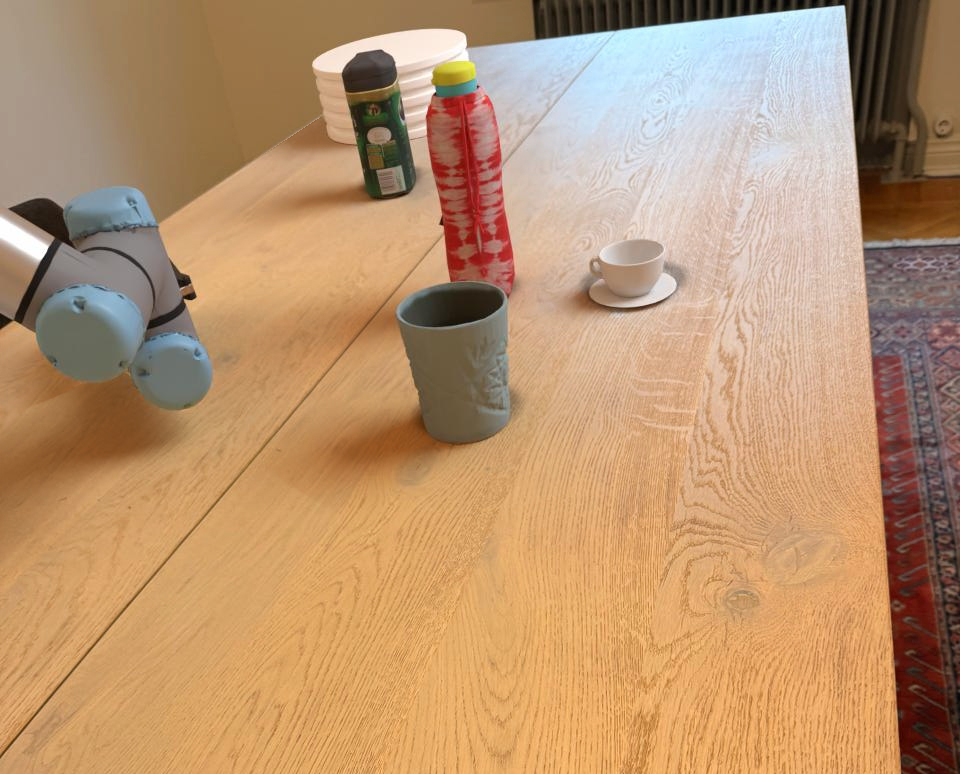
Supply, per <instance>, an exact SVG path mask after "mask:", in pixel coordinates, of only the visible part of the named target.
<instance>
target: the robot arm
mask: <svg viewBox="0 0 960 774" xmlns="http://www.w3.org/2000/svg"><path fill="white" fill-rule="evenodd" d="M62 216H63V220H64V223H65V225H66V228H67V231H68V234H69V235H68V239H69V241H70V242H71V243H72V245H73V246H74V247H72V246H70V245H68V244H67V243H65V242H63V241H61V240H60V239H58V238H56V237H55V236H53V235H52V234H50V233H48V232H47V231H45V230H44V229H42V228H40V227H39V226H37V225H35V224H34V223H32V222H30V221H29V220H27V219H26V218H24V217H22V216H20V215H19V214H17V213H16V212H14V211H12V210H10V209H9V208H7V207H5V206H4V205H3V204H1V203H0V314H1V315H2V316H4V317H6V318H8V319H10V320H12V321H14V322H15V323H17V324H18V325H21V326H22V327H24V328H26V329H27V330H28V331H30V332H32V333H34V334H35V339H36V343H37V345H38V349H39V350H40V352H41V354H42V355H43V356H44V357H45V359H46V360H47V361H48V362H49V363H50V364H51V365H52V366H53V368H54V369H55V370H56V371H58V372H59V373H61V374H62V375H64V376H66V377H67V378H69V379H72V380H75V381H79V382H83V383H89V384H91V383H93V384H94V383H95V384H98V383H99V384H100V383H105V382H109V381H112V380H114V379H116V378H118V377H120V376H121V375H122V374H123V373H125V372H126V370H128V374H129V377H130V378H131V381H132V384H133V385H134V388H136V390H138V391H139V393H140V394H141V396H142V397H143V398H144V399H145V400H146V401H147V402H149V404H151V405H153V406H155V407H157V408H158V409H161V410H165V411H183V410H188V409H190V408H192V407H194V406H196V405H197V404H199V403H200V402H201V401H202V400H204V398H206V396H207V395H208V393H209V391H210V389H211V387H212V383H213V380H214V379H213V378H214V371H213V365H212V362H211V358H210V357H209V355H208V350H207V348H206V346H205V345H204V344H202V342H201V341H200V337H199V335H198V332H197V330H196V328H195V324H194V322H193V319H192V316H191V314H190V311H189V308H188V305H187V303H186V301H193V300H195V299H197V297H198V295H197V293H196V291H195V289H194V288H195V287H194V285H193V282H192V279H191V276H190V275H189V274H185V273H182V272H181V271H180V270H179V268H177V266H176V265H175V264H174V262H173V261H172V259H171V258H170V257H169V255H168V251H167V249H166V247H165V244H164V241H163V238H162V235H161V233H160V230H159V228H160V225H159V223H158V222H157V221H156V219H155V216H154V214H153V212H152V210H151V208H150V205H149V203H148V201H147V199H146V196H145V195H144V194H143V193H142V192H141V191H140V190H139V189H138V188H135V187H132V186H129V185H127V186H126V185H114V186H106V187H101V188H98V189H95V190H91V191H88V192H85V193H83V194H80V195H78V196H77V197H75V198H73V199H71V200H70V201H68V203H67V204H66V205H65V206H64V208H63V211H62Z"/></svg>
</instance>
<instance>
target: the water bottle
mask: <svg viewBox="0 0 960 774" xmlns="http://www.w3.org/2000/svg"><path fill="white" fill-rule="evenodd" d="M432 74H433V78H432V79H431V83H432V84H433V85H435V90H436V92H435V93H434V94H433V95H432V98H431V104H430V105H429V106H428V110H427V114H426V126H427V136H426V140H427V147H428V152H429V153H428V154H429V159H430V166H431V171H432V174H433V178H434V183H435V186H436V190H437V194H438V198H439V205H440V211H441V217H440V220H439V223H438V225H439V226H442V227H443V236H444V246H445V255H446V266H447V270H448V276H449V282H460V281H476V282H485V283H489V284H492V285H495V286H497V287H499V288H500V289H502V290H503V291H504V292H505V294H506V296H507V300H508V299H509V297H510V294H511V293H512V290H513V286H514V281H515V276H516V270H515V259H514V251H513V246H512V245H513V244H512V240H511V234H510V230H509V223H508V217H507V214H506V213H507V212H506V206H505V198H504V190H503V165H502V148H501V141H500V133H499V125H498V120H497V116H496V112H495V108H494V105H493V102H492V100H491V98H490V97H489V95H488V94H486V93H485V91H484V89H483V86H480V85H479V84H477V72H476V64H475V63H474V62H472V61H470V60H469V61H460V60H459V61H451V62H447V63H444V64H442V65H439V66H437V67H435V69H434V70H433V72H432Z"/></svg>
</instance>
